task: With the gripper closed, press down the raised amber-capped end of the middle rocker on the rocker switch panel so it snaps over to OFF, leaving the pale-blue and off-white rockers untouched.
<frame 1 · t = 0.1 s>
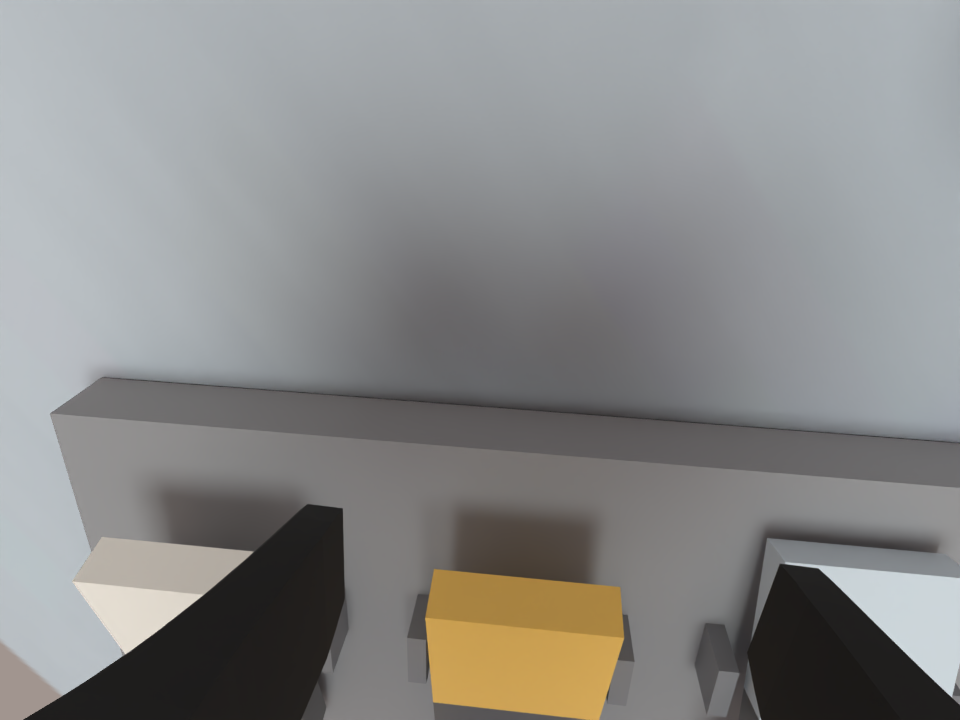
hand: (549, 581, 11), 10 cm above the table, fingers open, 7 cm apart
rocker switch panel: (522, 572, 24), on the table
rocker a: (838, 712, 19), point 5 cm above the table, hinge at 14.0°
rocker b: (516, 687, 20), point 5 cm above the table, hinge at -14.0°
rocker c: (221, 655, 20), point 5 cm above the table, hinge at -14.0°
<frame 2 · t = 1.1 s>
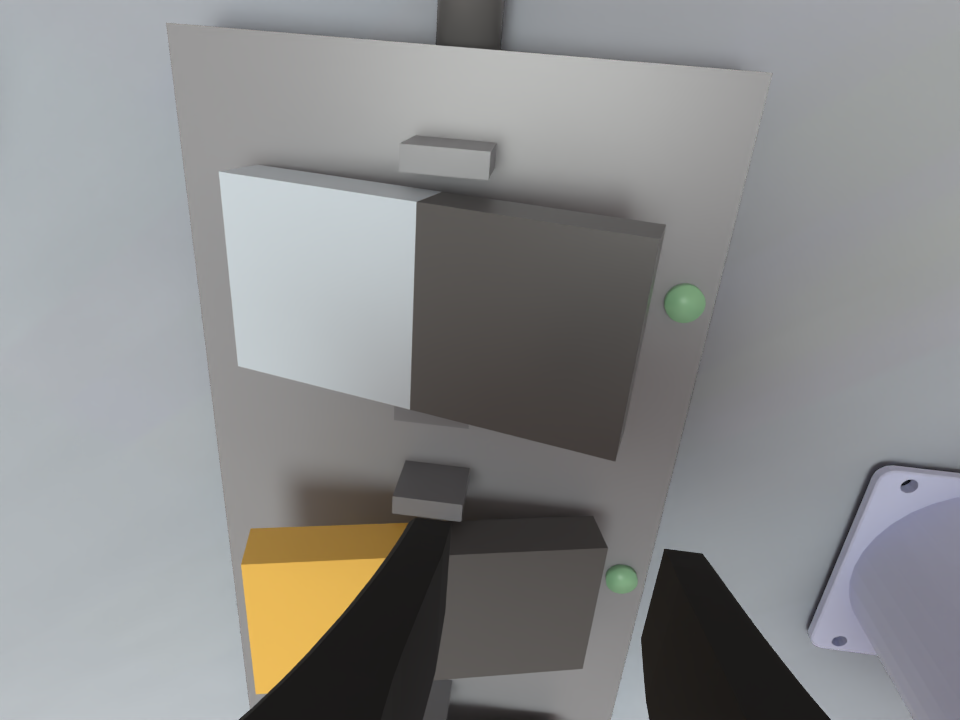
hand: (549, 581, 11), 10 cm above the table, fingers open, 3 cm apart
rocker switch panel: (444, 504, 23), on the table
rocker a: (425, 304, 15), point 5 cm above the table, hinge at 14.0°
rocker b: (427, 603, 19), point 5 cm above the table, hinge at -14.0°
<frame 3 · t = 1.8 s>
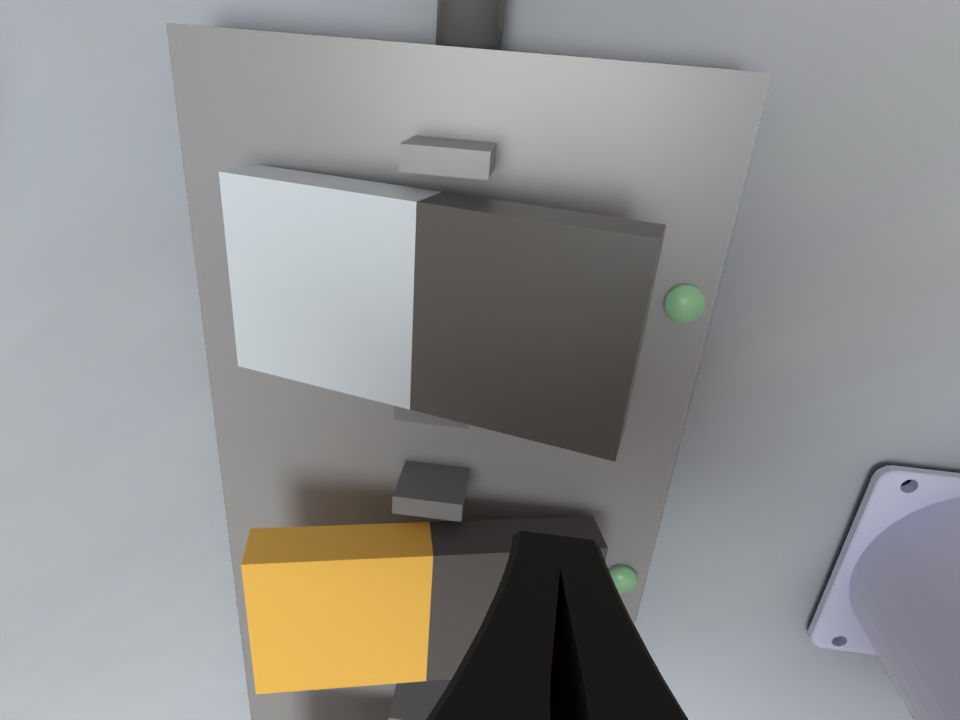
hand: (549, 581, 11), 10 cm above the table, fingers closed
rocker switch panel: (444, 504, 23), on the table
rocker a: (425, 304, 15), point 5 cm above the table, hinge at 14.0°
rocker b: (427, 603, 19), point 5 cm above the table, hinge at -14.0°
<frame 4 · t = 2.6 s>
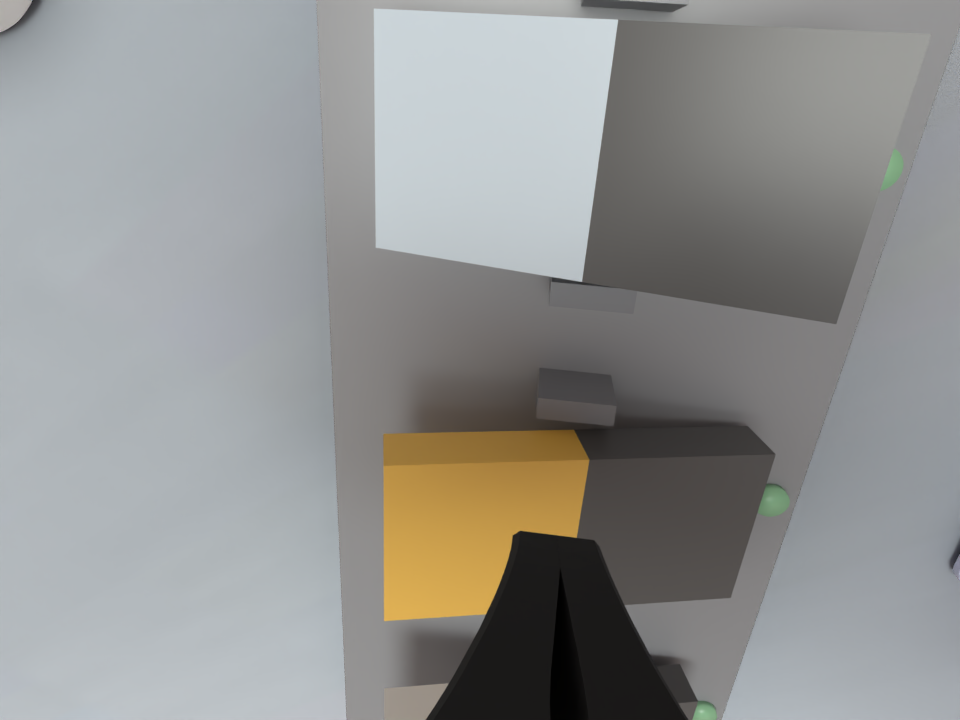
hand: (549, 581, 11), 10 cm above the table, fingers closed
rocker switch panel: (559, 431, 21), on the table
rocker a: (604, 158, 13), point 5 cm above the table, hinge at 14.0°
rocker b: (569, 521, 17), point 5 cm above the table, hinge at -14.0°
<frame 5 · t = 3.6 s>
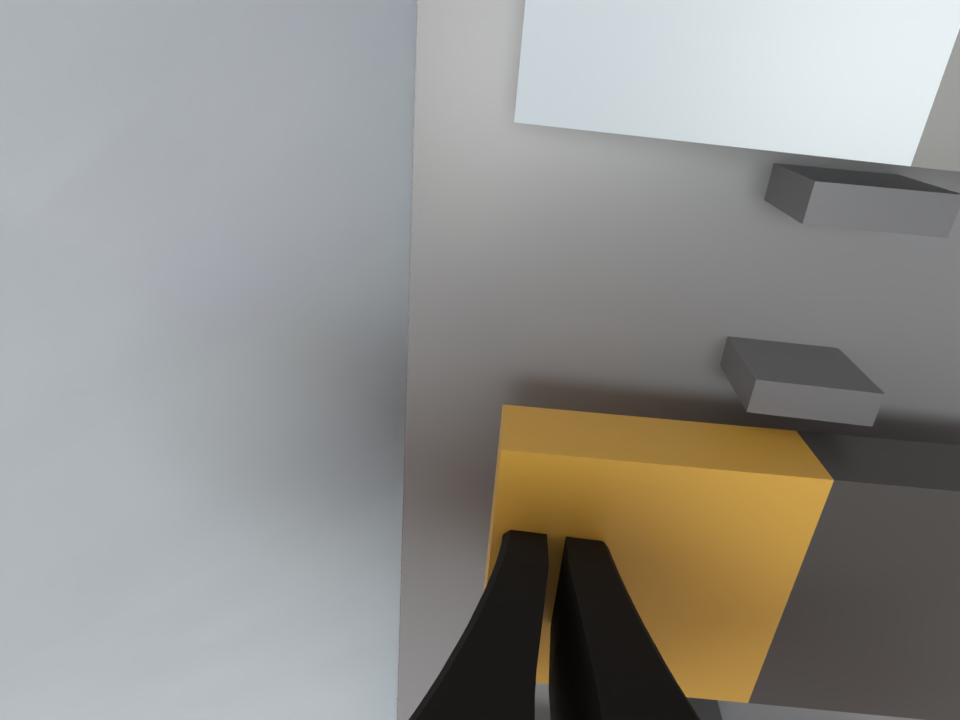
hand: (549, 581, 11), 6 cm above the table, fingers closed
rocker switch panel: (708, 432, 15), on the table
rocker b: (771, 572, 11), point 5 cm above the table, hinge at -3.0°, touching gripper
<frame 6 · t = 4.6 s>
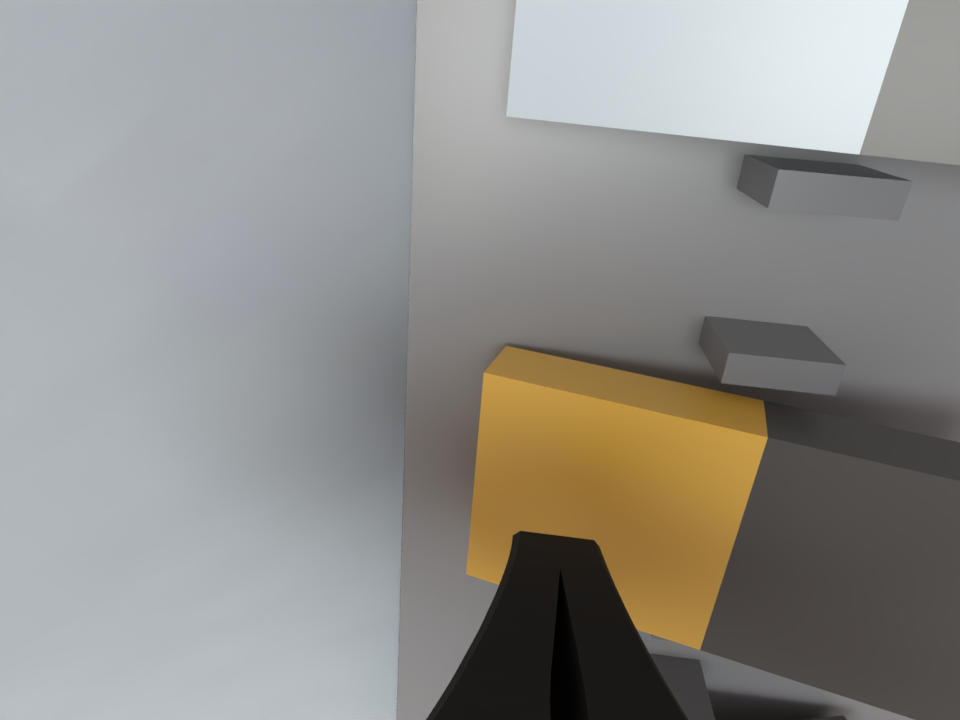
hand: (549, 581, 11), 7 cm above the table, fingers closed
rocker switch panel: (691, 411, 16), on the table
rocker b: (730, 530, 12), point 5 cm above the table, hinge at 14.4°
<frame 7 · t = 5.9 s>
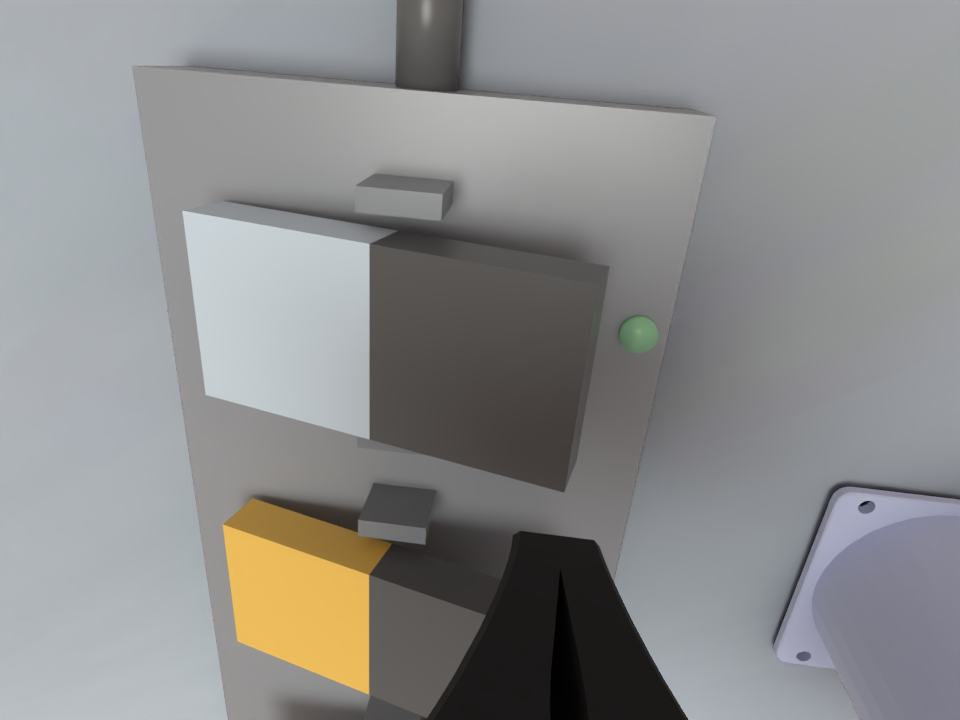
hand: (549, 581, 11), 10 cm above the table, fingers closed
rocker switch panel: (416, 522, 24), on the table
rocker a: (383, 338, 15), point 5 cm above the table, hinge at 14.0°
rocker b: (380, 620, 19), point 5 cm above the table, hinge at 14.4°
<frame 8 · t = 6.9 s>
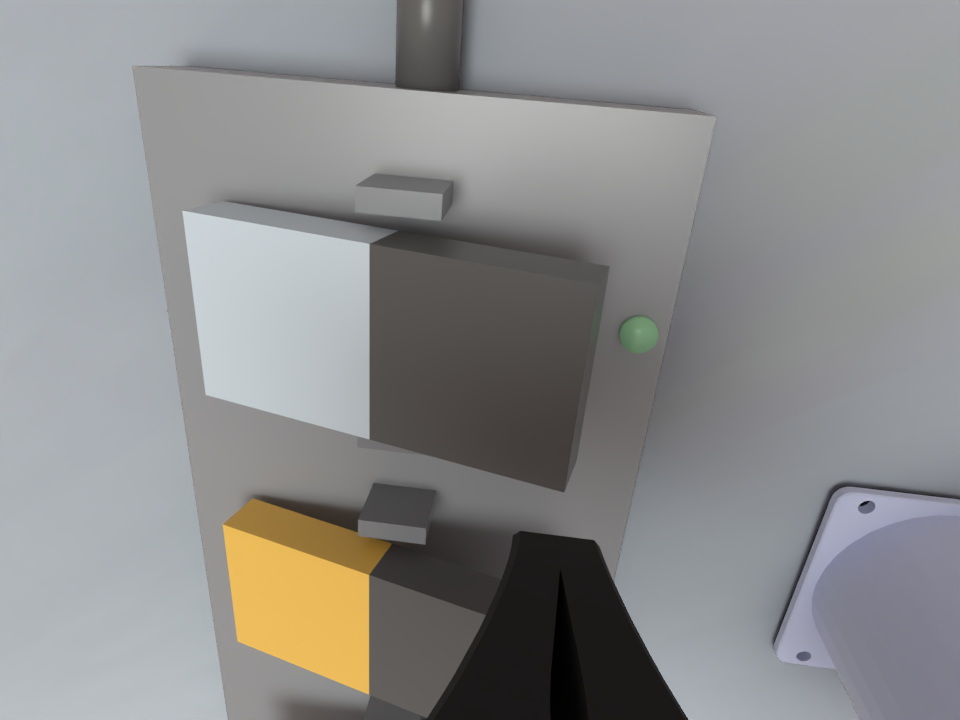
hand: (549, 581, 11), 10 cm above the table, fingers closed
rocker switch panel: (416, 522, 24), on the table
rocker a: (383, 338, 15), point 5 cm above the table, hinge at 14.0°
rocker b: (380, 620, 19), point 5 cm above the table, hinge at 14.4°
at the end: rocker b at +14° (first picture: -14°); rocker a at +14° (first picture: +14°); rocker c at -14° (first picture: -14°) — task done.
